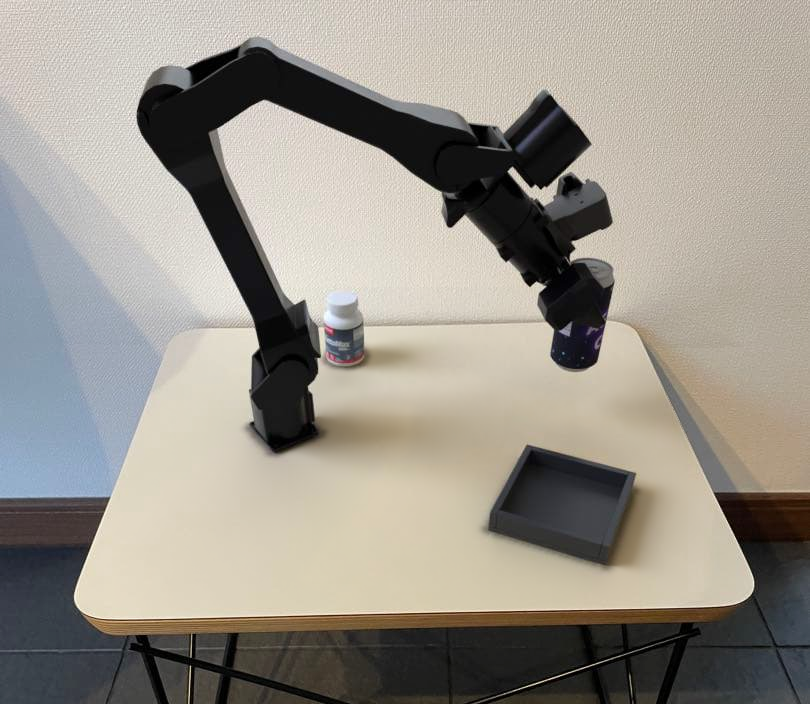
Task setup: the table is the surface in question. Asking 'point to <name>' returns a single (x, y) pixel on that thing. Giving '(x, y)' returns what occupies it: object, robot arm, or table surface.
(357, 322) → the pill bottle
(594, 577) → the table surface
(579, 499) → the square tray
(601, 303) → the beverage can
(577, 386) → the table surface
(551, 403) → the table surface
